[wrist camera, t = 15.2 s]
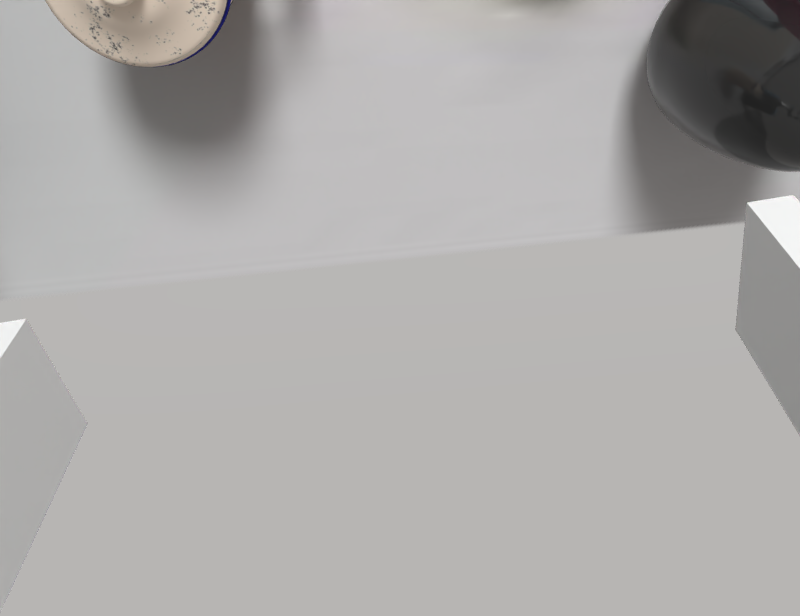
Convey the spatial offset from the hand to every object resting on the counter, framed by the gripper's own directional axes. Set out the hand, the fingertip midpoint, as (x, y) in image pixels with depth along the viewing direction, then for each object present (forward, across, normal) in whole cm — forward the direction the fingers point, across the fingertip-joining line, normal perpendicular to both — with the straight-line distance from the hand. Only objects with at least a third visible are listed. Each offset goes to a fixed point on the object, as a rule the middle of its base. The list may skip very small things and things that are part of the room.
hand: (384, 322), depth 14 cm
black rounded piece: (+35, -18, +8) cm, 40 cm away
